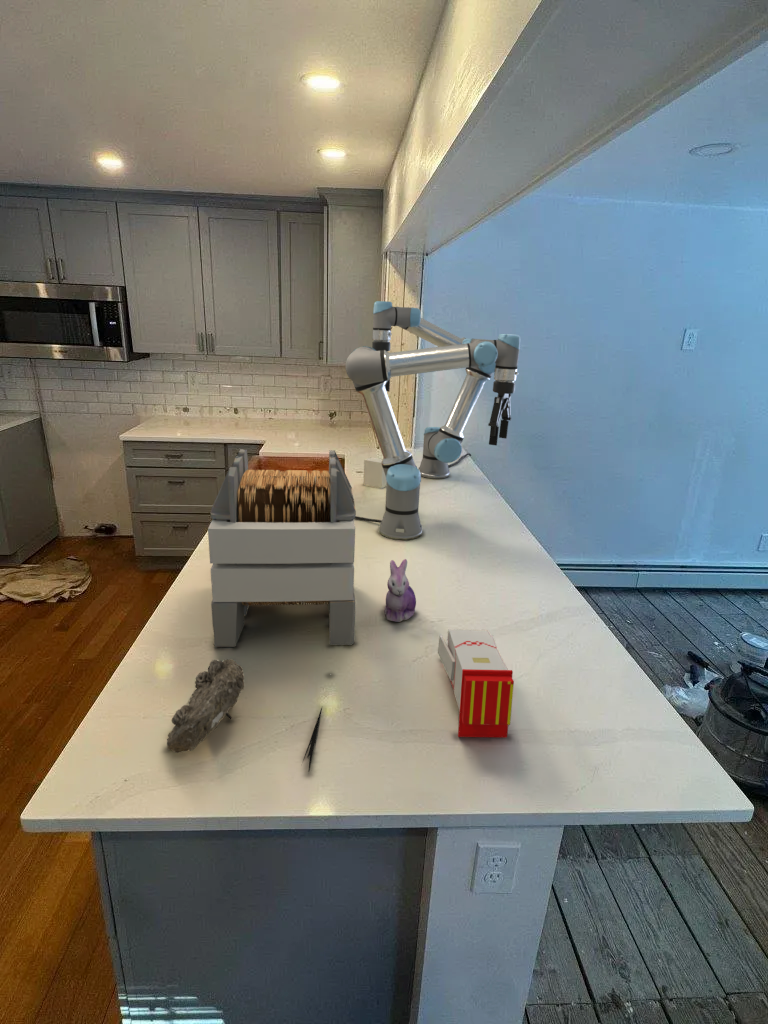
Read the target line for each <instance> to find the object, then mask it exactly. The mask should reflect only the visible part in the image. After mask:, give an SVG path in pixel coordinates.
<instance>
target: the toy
mask: <svg viewBox="0 0 768 1024" xmlns="http://www.w3.org/2000/svg"><path fill="white" fill-rule="evenodd" d="M446 640H447V643H446V641H445V639H444V636H443V635H442V634H439V637H438V646H437V656H438V657H439V659H440V661H441V663H442V666H443V668H444V670H445V672H446V674H447V677H448V679H449V681H450V684H451V687H452V690H453V693H454V697H455V701H456V705H457V708H458V711H459V714H458V715H459V716H458V730H457V731H458V732H457V737H458V738H508V731H509V726H510V725H511V717H512V707H513V697H514V696H513V695H514V684H515V680H514V679H513V673H514V671H513V670H512V669H508V667H507V665H506V662H505V661H504V659H503V658H502V655H501V653H500V651H499V649H498V647H497V643H496V639H495V637H494V635H493V634H491V632H490V631H489V629H467V628H466V629H465V628H463V629H461V628H460V629H459V628H448V630H447V639H446Z"/></svg>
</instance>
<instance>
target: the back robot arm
mask: <svg viewBox="0 0 768 1024" xmlns="http://www.w3.org/2000/svg"><path fill="white" fill-rule="evenodd" d="M392 327H399V328H401V329H402V330H405V331H407V332H409V333H411V334H413V335H415V336H417V337H418V338H421V339H422V340H424V341H426V342H428V343H430V344H432V345H434V346H435V347H442V346H450V345H458V344H462V343H463V340H464V339H467V338H466V337H461V338H460V337H459V336H457V335H455V334H453V333H451V332H449V331H448V330H446V329H444V328H442V327H440V326H438V325H436V324H434V323H433V322H430V321H428V320H426V319H425V318H422V313H421V309H419V307H413V306H412V307H409V306H408V307H405V306H393V302H391V301H382V300H376V301H375V302H374V303H373V309H372V337H371V339H372V340H373V341H372V344H371V348H373V349H375V350H376V351H381V350H386V351H387V352H388V353H391V352H390V351H391V342H390V341H391V337H392ZM495 365H496V363H493V364H492V365H490V366H487V367H482V366H477V367H467V368H464V369H465V373H466V376H465V378H464V380H463V383H462V385H461V387H460V390H459V392H458V394H457V396H456V398H455V401H454V403H453V406H452V407H451V410H450V412H449V415H448V417H447V419H446V422H445V424H444V425H442V426H427V427H425V429H424V432H423V443H422V444H423V445H422V446H423V447H422V459H421V462H420V464H419V467H417V468H418V469H419V471H420V474H421V478H422V477H423V478H426V479H433V480H434V479H435V480H437V479H438V480H440V479H446V478H449V477H450V472H451V471H450V469H449V468H450V467H453V466H455V465H457V464H459V463H461V461H462V460H463V459H464V458H466V457H467V456H469V457H472V454H471V453H470V452H467V453H466V454H463V455H462V456H461V454H462V453H463V447H462V443H463V441H464V438H465V436H464V433H463V432H464V431H465V428H466V426H467V424H468V421H469V420H470V417H471V414H472V412H473V411H474V409H475V406H476V403H477V401H478V399H479V396H480V394H481V392H482V390H483V388H484V385H485V383H486V382H488V381H490V380H491V378H492V376H493V375H494V373H495ZM385 388H386V391H387V393H389V392H390V389H391V378H390V379H389V380H388V381H387V383H386V385H385ZM460 456H461V457H460Z"/></svg>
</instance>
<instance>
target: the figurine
mask: <svg viewBox="0 0 768 1024" xmlns="http://www.w3.org/2000/svg"><path fill="white" fill-rule="evenodd" d="M407 567H408V559H406V558H404V559H403V560H402V561H401V563H400V565H399V566H398V565H397V563H396V562H395V561H394V560H393V559H391V560H390V561H389V570H390V576H389V578H388V579H387V589H388V591H387V592H386V594H385V595H386V596H385V607H384V615H385V616H386V620H387V621H391V622H395V623H400V622H402V621H406V620H409V619H410V618H411V617H413V616H414V615H415V610H416V606H417V597H416V593H415V591H414V590H413V587H411V586H410V582H409V579H408V577H407V574H406V571H407Z"/></svg>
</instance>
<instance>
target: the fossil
mask: <svg viewBox="0 0 768 1024" xmlns="http://www.w3.org/2000/svg"><path fill="white" fill-rule="evenodd" d="M243 670H244V669H243V667H242V665H240V664H237V662H236V661H235V660H234V659H232V658H231V659H227V658H226V659H224V660H223V661H222V660H217V659H212V660H211V661H210V663H209V665H208V666H207V671H201V672H199V673H198V674H197V675H196V676H195V680H194V684H195V685H194V687H195V689H194V690H193V693H192V694H191V697H190V698H189V700H188V704H184V705H182V706H181V707H180V709H177V710H176V711H175V713H174V715H173V716H172V718H171V723H172V724H173V727H172V730H171V731H170V732H168V734H167V738H166V741H167V742H166V745H167V749H168V750H169V751H173V752H174V753H176V754H178V753H182V752H188V751H189V752H192V751H193V750H195V748H196V747H197V746H199V744H200V743H201V742H203V741H204V740H205V739H206V738H207V737H208V736H209V735H210V734H211V733H212V732H214V730H215V729H217V727H218V726H219V724H220V722H221V721H222V720H223V719H224V718H225V716H226V717H227V719H229V720H233V717H232V715H230V714H229V710H230V709H231V708H234V706H235V704H236V703H237V702H238V699H239V697H240V695H241V693H242V691H243V690H245V689H244V688H245V675H244V671H243Z"/></svg>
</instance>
